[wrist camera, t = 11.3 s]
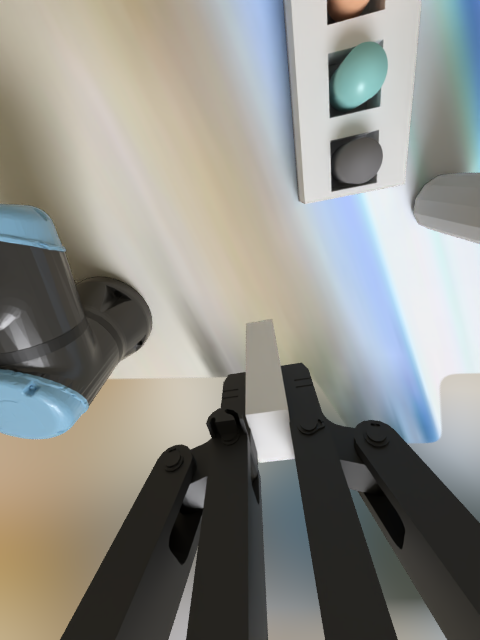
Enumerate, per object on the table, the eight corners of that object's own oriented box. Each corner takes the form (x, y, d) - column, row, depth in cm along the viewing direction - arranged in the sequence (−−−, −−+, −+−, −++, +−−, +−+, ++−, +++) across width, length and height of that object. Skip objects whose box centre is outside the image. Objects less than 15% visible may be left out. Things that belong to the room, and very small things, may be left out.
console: (298, 200, 38) (304, 204, 34) (281, -24, 28) (286, -61, 24) (386, 183, 37) (404, 184, 32) (401, -60, 26) (431, -107, 22)
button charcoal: (330, 185, 35) (341, 187, 30) (329, 146, 33) (341, 142, 28) (364, 178, 34) (381, 179, 30) (366, 138, 32) (384, 132, 28)
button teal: (328, 116, 31) (340, 106, 27) (326, 67, 29) (340, 48, 25) (367, 107, 31) (386, 95, 26) (368, 56, 29) (389, 35, 24)
